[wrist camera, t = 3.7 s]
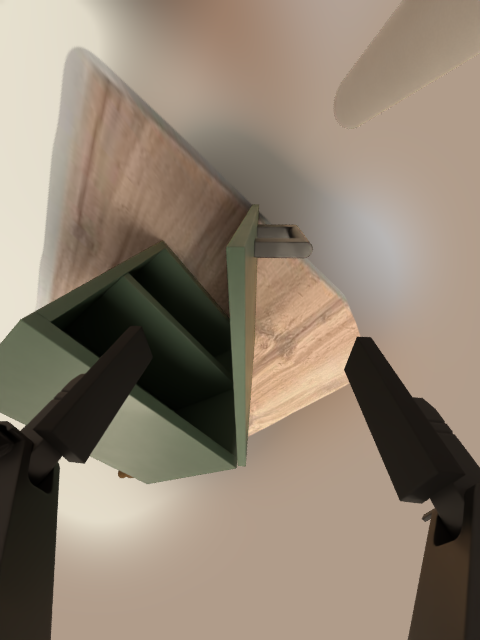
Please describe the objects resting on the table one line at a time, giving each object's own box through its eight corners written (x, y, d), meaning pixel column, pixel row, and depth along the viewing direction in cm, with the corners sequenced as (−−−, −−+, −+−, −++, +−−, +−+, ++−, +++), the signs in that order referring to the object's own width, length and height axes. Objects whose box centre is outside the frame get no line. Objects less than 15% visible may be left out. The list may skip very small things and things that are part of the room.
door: (298, 204, 29) (367, 248, 10) (281, 342, 44) (293, 472, 24) (252, 204, 30) (225, 246, 10) (250, 340, 45) (237, 465, 25)
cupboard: (162, 240, 35) (19, 319, 14) (249, 341, 45) (236, 468, 25) (106, 291, 42) (-42, 392, 22) (192, 369, 52) (147, 484, 32)
